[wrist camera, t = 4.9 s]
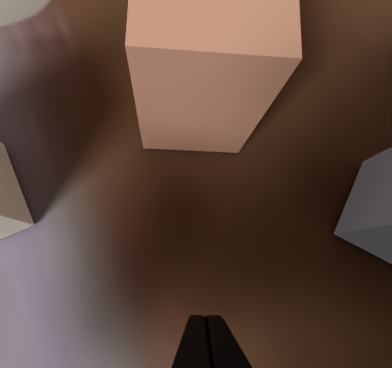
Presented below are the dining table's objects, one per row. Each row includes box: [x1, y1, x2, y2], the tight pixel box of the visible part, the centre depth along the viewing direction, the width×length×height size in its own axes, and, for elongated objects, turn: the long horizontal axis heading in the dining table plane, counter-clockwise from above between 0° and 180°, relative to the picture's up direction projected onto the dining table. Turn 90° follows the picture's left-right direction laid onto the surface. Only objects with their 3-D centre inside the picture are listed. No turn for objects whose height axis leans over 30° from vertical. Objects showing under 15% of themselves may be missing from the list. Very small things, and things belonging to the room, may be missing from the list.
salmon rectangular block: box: [125, 0, 302, 153], centre depth 13 cm, size 4×4×8 cm
